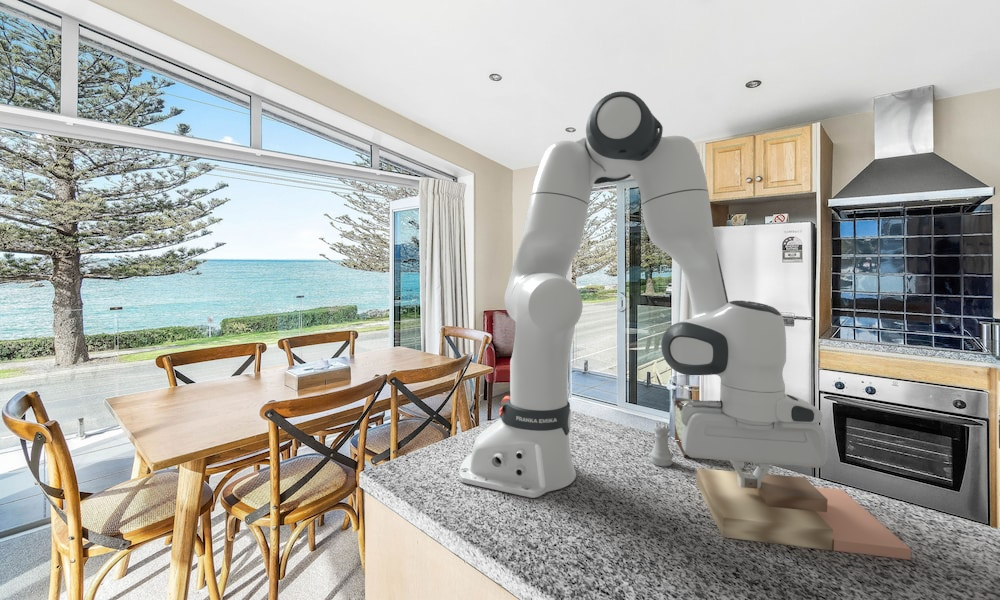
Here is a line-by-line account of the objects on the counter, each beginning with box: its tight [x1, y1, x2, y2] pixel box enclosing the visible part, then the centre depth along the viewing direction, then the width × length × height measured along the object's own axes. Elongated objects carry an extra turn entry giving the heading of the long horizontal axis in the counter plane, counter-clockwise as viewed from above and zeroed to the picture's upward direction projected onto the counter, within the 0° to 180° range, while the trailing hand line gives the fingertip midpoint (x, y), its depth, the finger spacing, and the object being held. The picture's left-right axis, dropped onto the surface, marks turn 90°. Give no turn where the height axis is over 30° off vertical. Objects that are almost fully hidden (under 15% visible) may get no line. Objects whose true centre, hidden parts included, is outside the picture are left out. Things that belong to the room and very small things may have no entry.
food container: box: [673, 397, 693, 459], centre depth 92 cm, size 12×6×10 cm, turn 168°
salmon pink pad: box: [814, 486, 912, 561], centre depth 65 cm, size 9×16×2 cm, turn 167°
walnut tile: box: [750, 472, 828, 512], centre depth 67 cm, size 8×7×2 cm
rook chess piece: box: [649, 421, 674, 468], centre depth 86 cm, size 4×4×8 cm
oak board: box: [696, 467, 833, 551], centre depth 68 cm, size 14×16×3 cm
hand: (748, 486), depth 68 cm, fingers closed
